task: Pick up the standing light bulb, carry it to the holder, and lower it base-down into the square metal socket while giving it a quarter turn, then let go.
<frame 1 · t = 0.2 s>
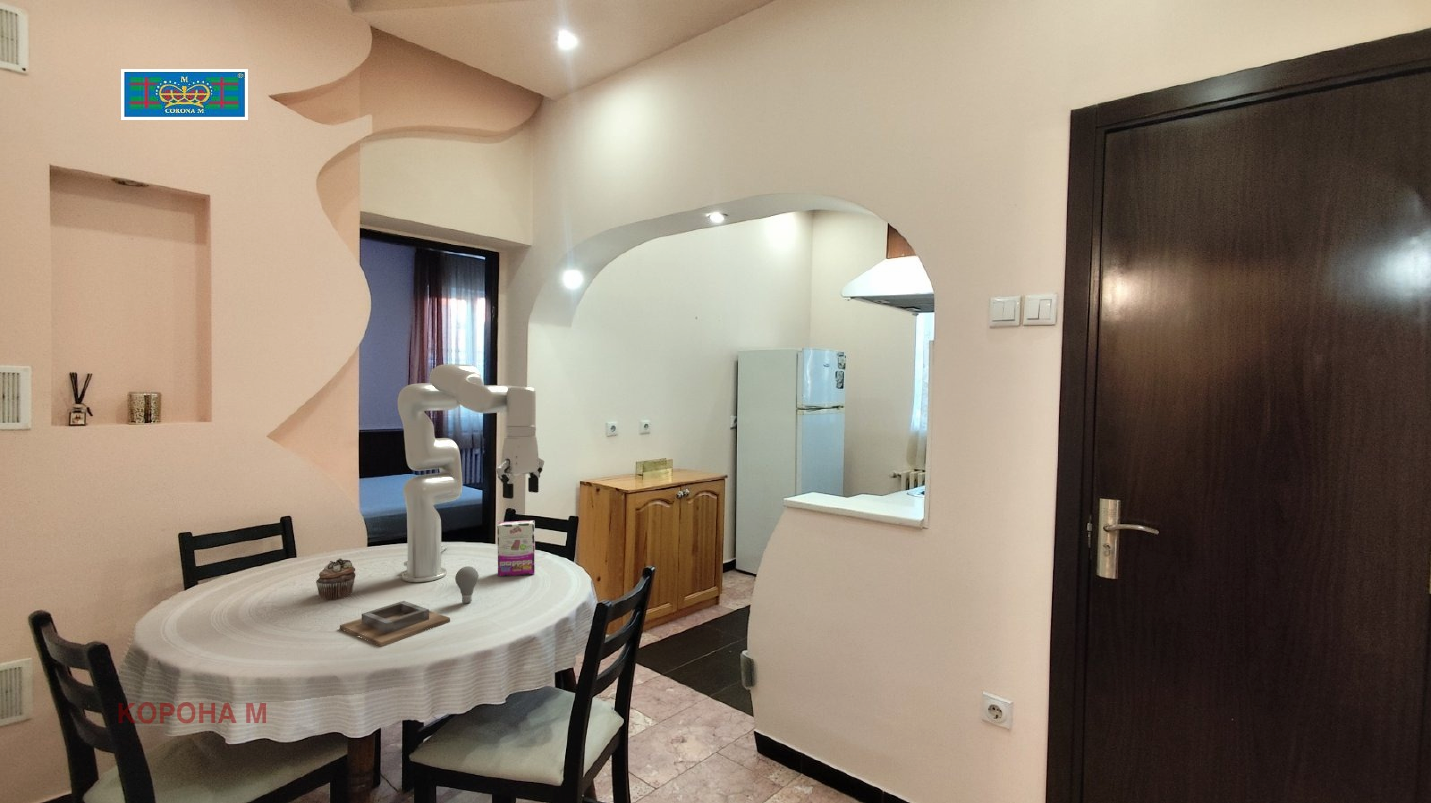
hand: (521, 495, 173), 31 cm above the table, tool pointing down, fingers open, 9 cm apart
cupcake: (336, 596, 180), on the table
knife: (429, 558, 216), on the table, touching arm
socket holder: (395, 625, 159), on the table
light bulb: (467, 603, 176), on the table
candy bar box: (516, 574, 202), on the table
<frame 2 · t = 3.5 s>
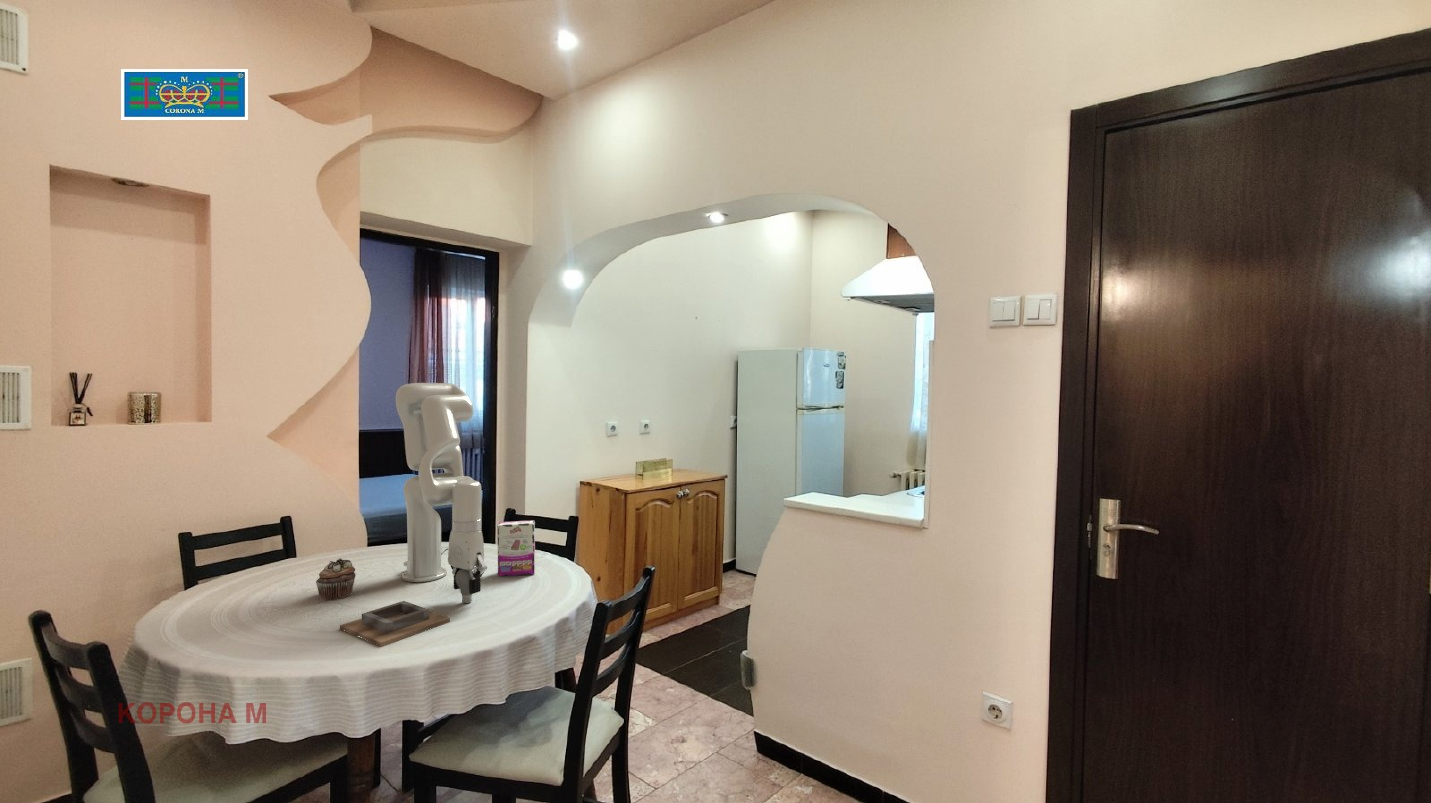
hand: (467, 589, 176), 4 cm above the table, tool pointing down, fingers closed on light bulb, 6 cm apart
light bulb: (467, 603, 176), on the table, touching gripper
everything else where it was.
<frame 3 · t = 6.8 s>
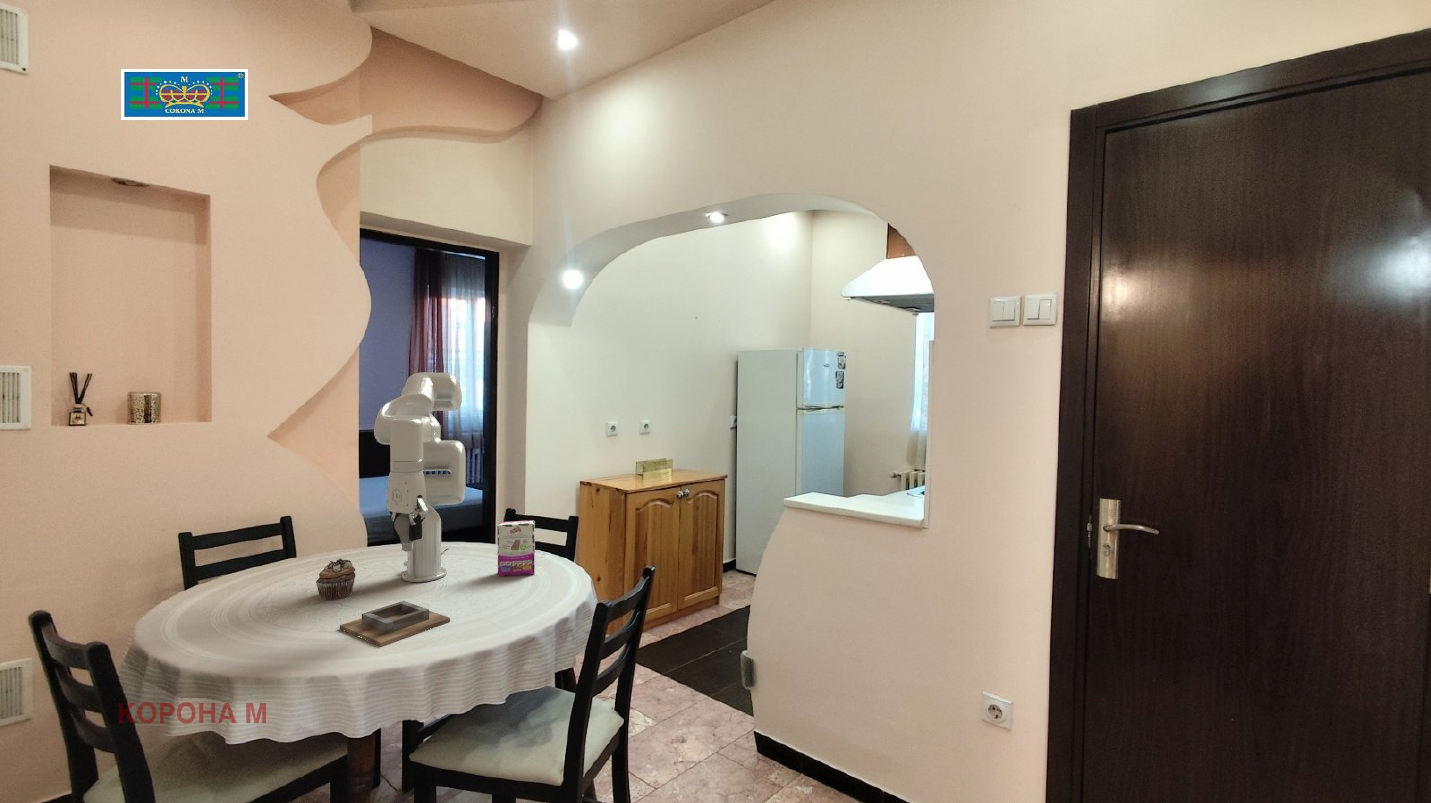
hand: (407, 537, 161), 22 cm above the table, tool pointing down, fingers closed on light bulb, 6 cm apart
light bulb: (407, 551, 161), point 18 cm above the table, touching gripper
everything else where it was.
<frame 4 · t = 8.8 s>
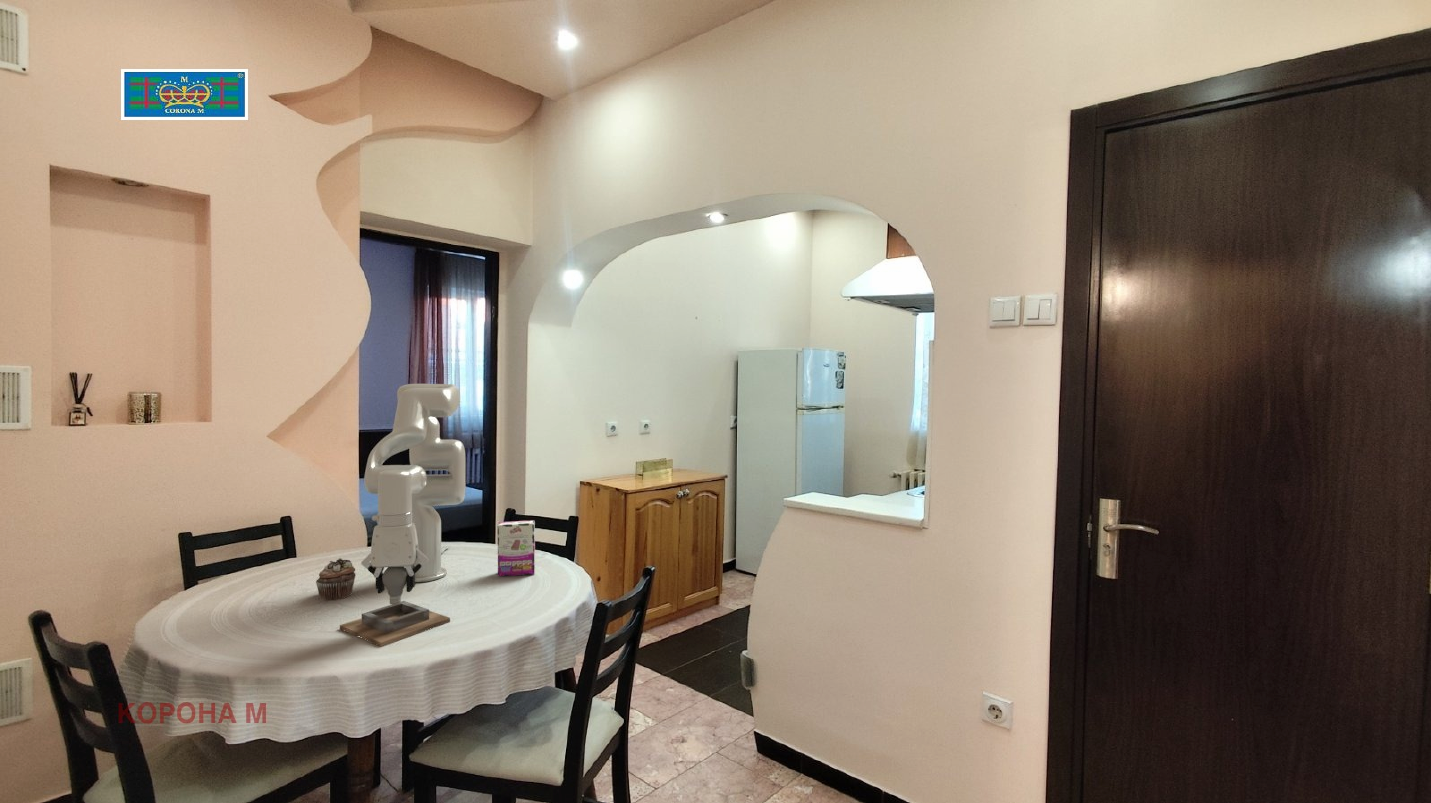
hand: (395, 590, 159), 9 cm above the table, tool pointing down, fingers closed on light bulb, 6 cm apart
light bulb: (395, 605, 159), point 5 cm above the table, touching gripper
everything else where it was.
when the fingers open (5 cm above the table, at t = 9.9 s): light bulb stays where it is, resting on socket holder.
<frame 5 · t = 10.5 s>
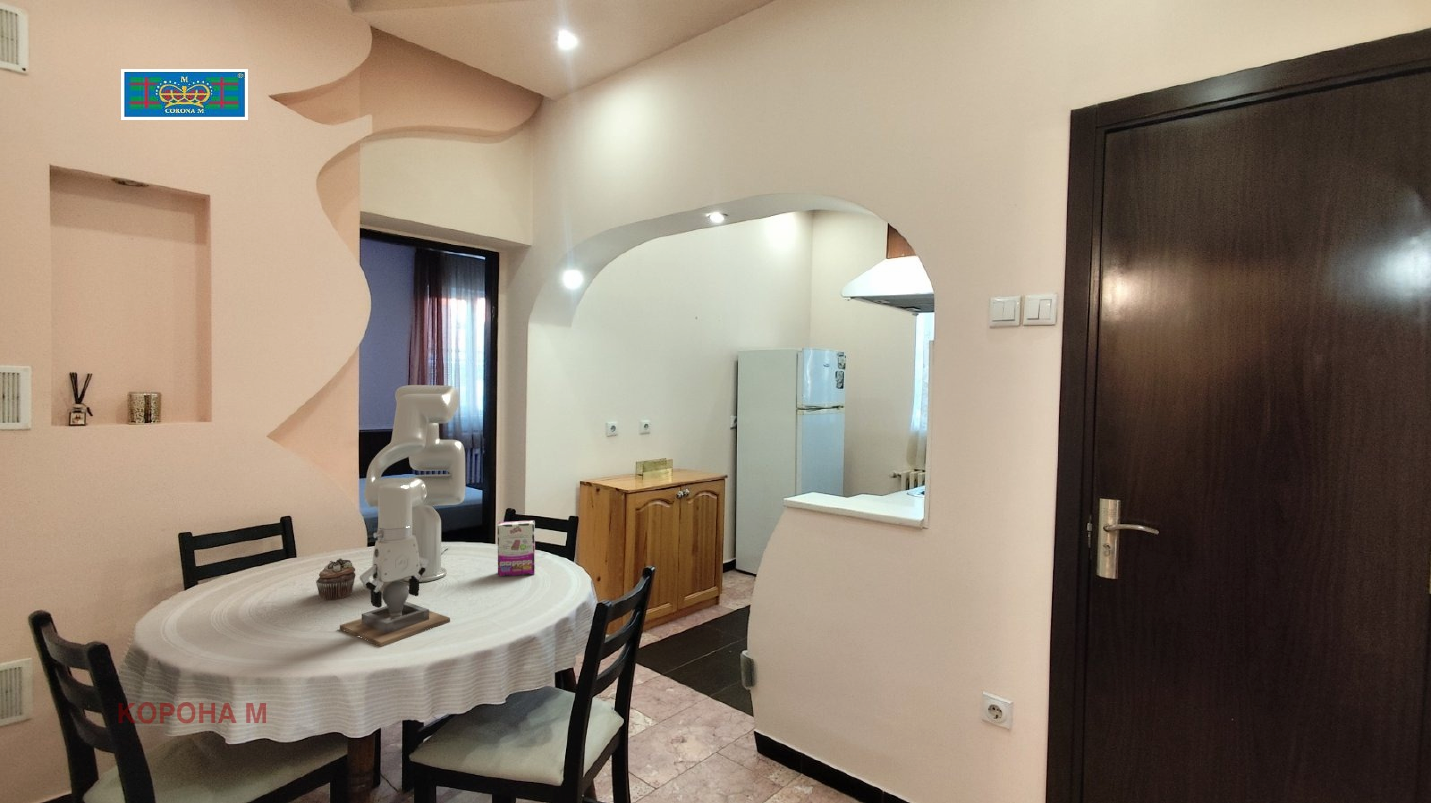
hand: (395, 600, 159), 6 cm above the table, tool pointing down, fingers open, 9 cm apart
light bulb: (396, 621, 159), point 1 cm above the table, touching socket holder
everything else where it was.
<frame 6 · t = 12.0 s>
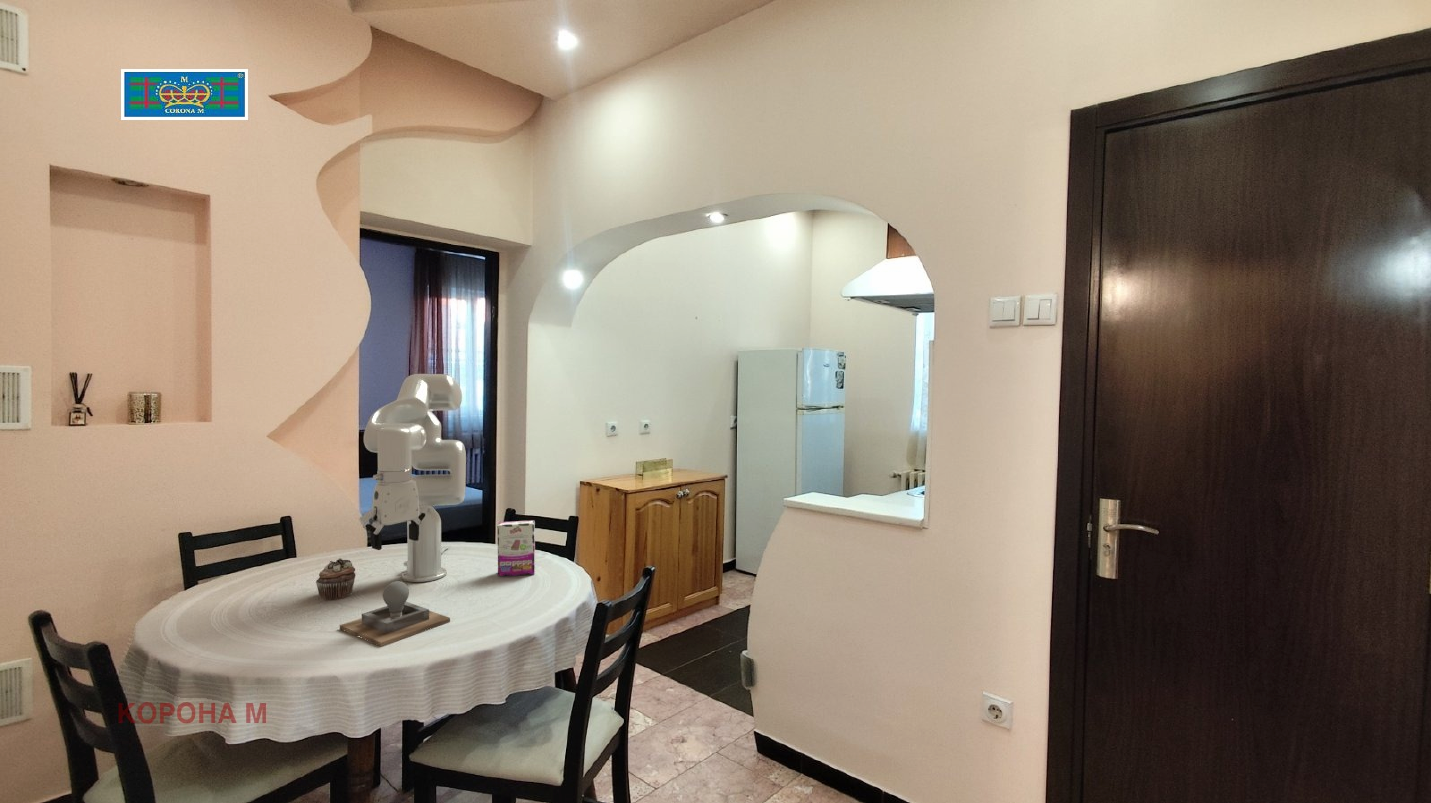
hand: (395, 544, 159), 20 cm above the table, tool pointing down, fingers open, 9 cm apart
nothing on the table moved.
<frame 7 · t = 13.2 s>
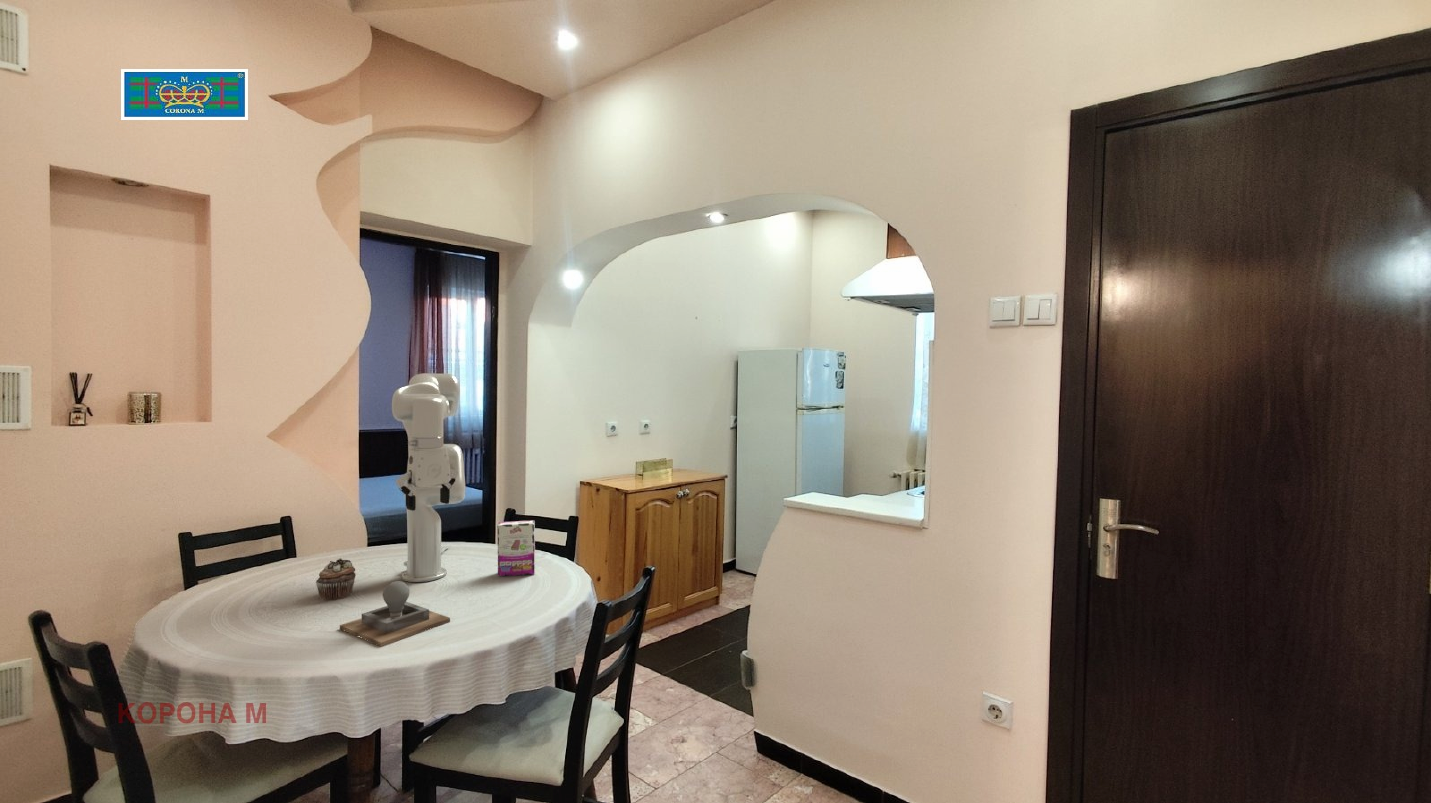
hand: (428, 506, 171), 28 cm above the table, tool pointing down, fingers open, 9 cm apart
nothing on the table moved.
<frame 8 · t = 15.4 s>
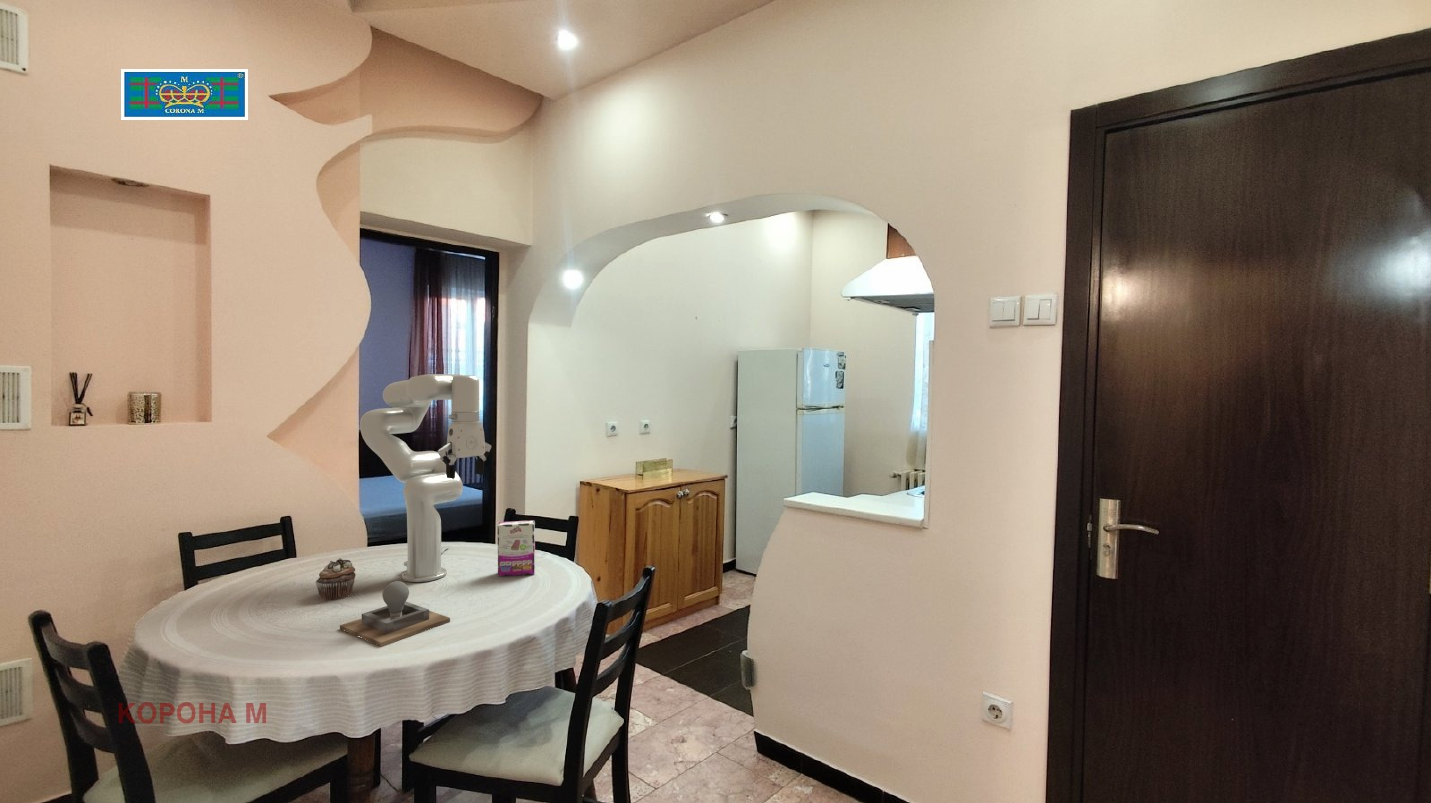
hand: (465, 476, 186), 33 cm above the table, tool pointing down, fingers open, 9 cm apart
nothing on the table moved.
at the end: light bulb 0.1 cm off-centre on the socket holder, point 0.8 cm above the socket holder's base; light bulb tilted 0°; the gripper is holding nothing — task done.
